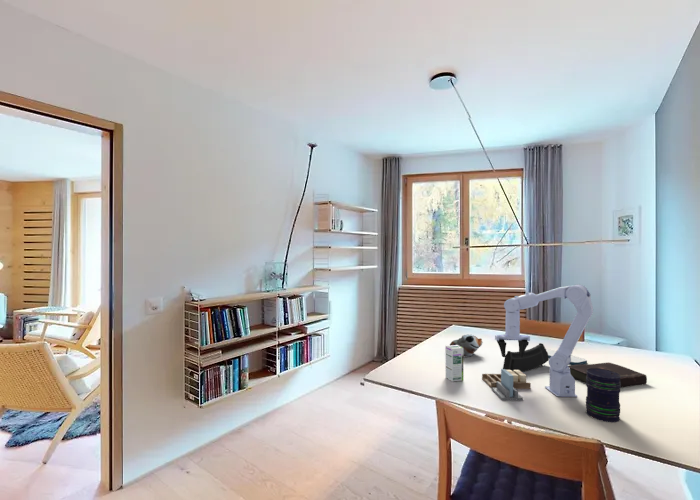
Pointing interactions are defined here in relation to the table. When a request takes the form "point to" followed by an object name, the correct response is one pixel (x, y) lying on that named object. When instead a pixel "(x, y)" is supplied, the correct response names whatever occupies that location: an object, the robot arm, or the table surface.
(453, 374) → the syrup box
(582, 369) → the diary
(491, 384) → the rack
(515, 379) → the offcut
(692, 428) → the table surface
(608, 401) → the storage jar
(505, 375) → the tall board
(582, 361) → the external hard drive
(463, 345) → the lucky cat figurine
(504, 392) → the holder
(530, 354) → the magazine
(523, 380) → the offcut
